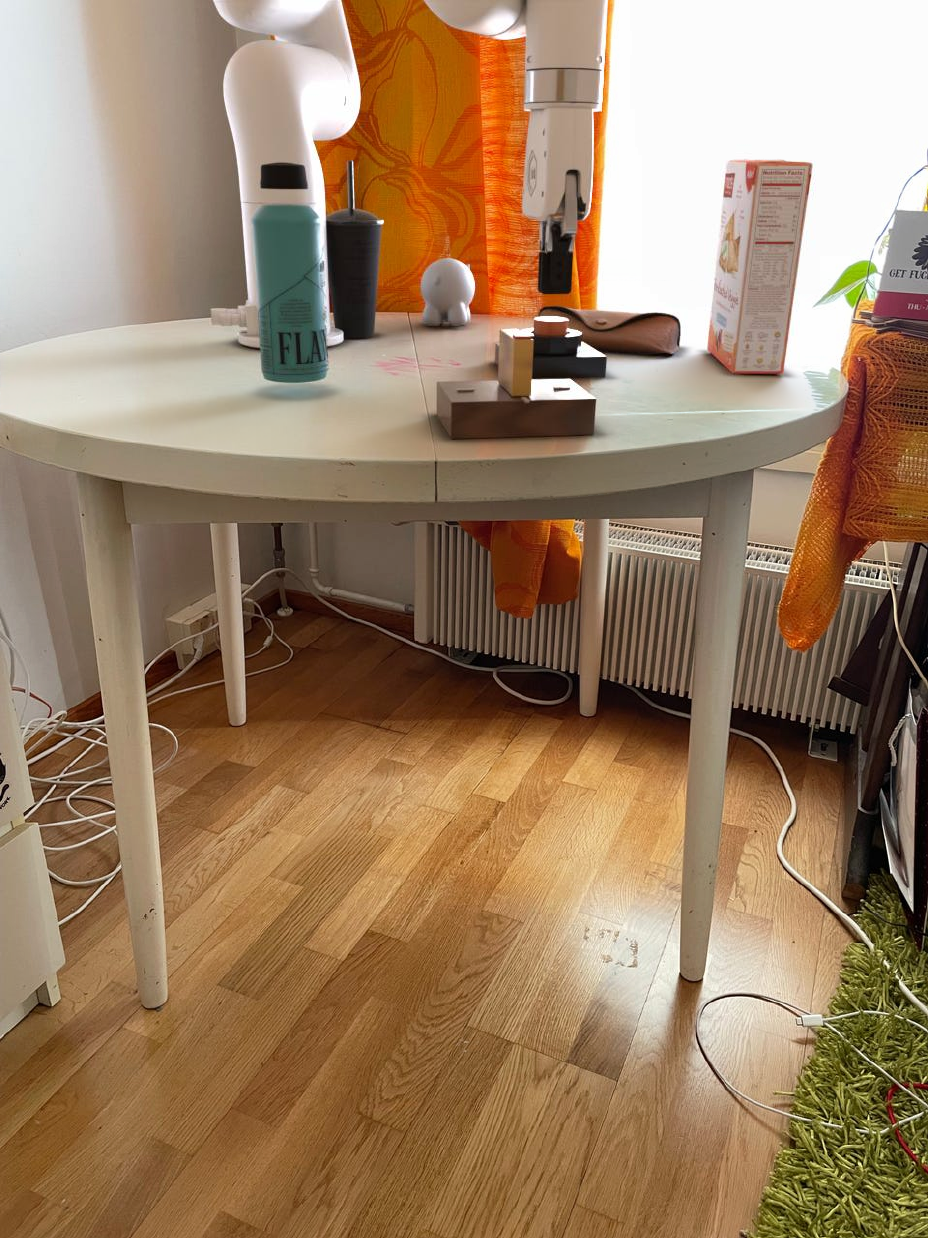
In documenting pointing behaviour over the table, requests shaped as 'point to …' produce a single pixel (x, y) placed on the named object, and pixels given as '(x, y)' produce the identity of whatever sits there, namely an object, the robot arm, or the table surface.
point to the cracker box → (757, 263)
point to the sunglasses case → (622, 330)
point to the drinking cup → (353, 266)
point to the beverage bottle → (289, 282)
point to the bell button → (550, 326)
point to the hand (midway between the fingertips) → (554, 292)
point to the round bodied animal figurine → (447, 293)
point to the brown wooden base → (514, 409)
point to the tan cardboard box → (515, 362)
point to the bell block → (563, 357)
